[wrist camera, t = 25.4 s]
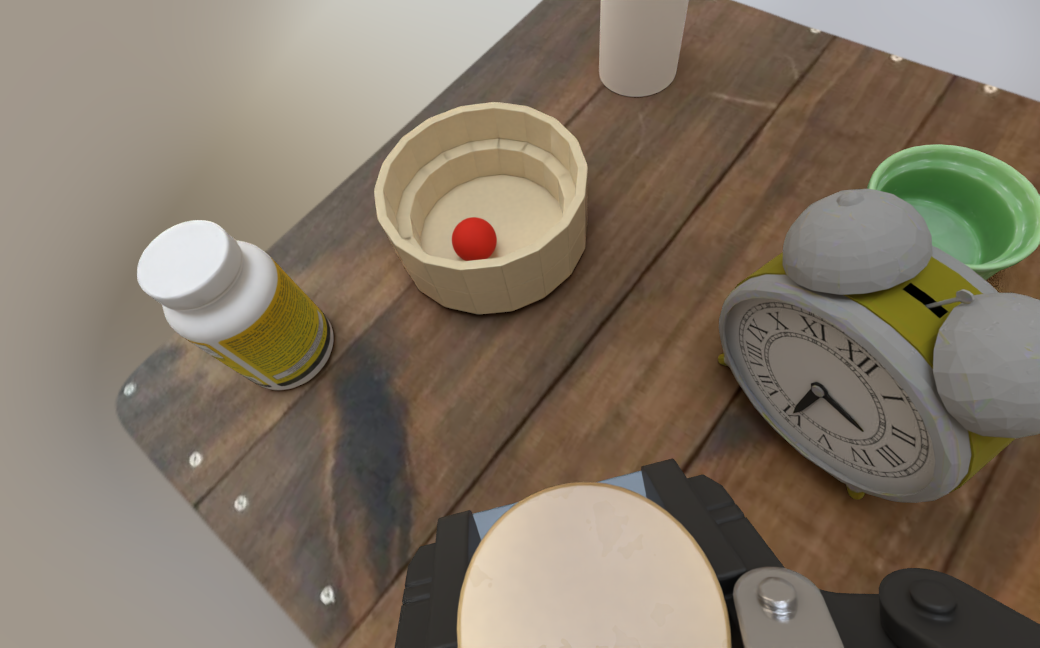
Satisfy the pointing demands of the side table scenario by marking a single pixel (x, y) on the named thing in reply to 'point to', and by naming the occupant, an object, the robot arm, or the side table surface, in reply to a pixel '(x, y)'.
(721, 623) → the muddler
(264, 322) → the pill bottle
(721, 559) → the robot arm
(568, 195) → the bowl
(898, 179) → the ramekin
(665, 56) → the candle
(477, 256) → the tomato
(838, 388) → the alarm clock
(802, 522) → the side table surface
